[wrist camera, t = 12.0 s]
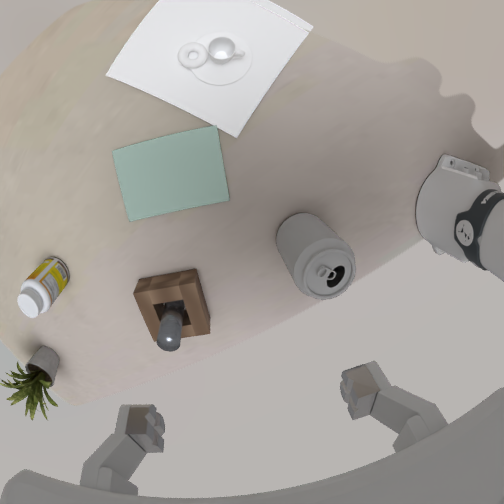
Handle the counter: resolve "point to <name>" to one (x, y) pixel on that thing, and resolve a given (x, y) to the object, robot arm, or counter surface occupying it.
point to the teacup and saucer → (211, 56)
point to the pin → (171, 325)
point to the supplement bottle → (43, 287)
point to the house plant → (35, 380)
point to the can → (315, 256)
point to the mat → (171, 173)
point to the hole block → (172, 289)
